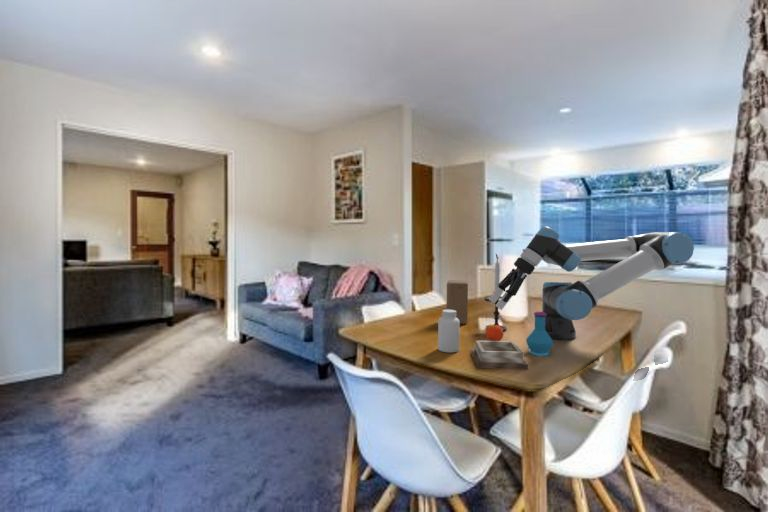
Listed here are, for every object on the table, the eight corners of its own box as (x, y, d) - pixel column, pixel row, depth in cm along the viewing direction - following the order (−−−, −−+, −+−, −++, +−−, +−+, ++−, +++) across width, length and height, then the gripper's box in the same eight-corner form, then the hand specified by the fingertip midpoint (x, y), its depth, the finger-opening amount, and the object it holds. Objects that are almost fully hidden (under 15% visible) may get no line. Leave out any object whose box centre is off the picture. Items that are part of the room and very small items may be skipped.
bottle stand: (515, 353, 144) (515, 340, 143) (528, 369, 128) (528, 354, 127) (471, 352, 145) (471, 339, 145) (478, 367, 129) (478, 352, 129)
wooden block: (467, 324, 189) (467, 283, 188) (446, 323, 191) (446, 282, 190) (467, 319, 199) (467, 280, 197) (447, 319, 201) (447, 280, 199)
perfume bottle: (550, 358, 139) (551, 316, 138) (523, 354, 143) (524, 313, 142) (554, 351, 146) (555, 311, 145) (528, 347, 151) (529, 309, 150)
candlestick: (485, 331, 175) (486, 253, 173) (483, 326, 186) (484, 252, 183) (510, 332, 173) (511, 253, 171) (506, 326, 184) (508, 252, 182)
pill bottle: (461, 353, 145) (461, 312, 144) (439, 353, 145) (439, 312, 144) (457, 346, 152) (457, 308, 152) (436, 346, 153) (436, 308, 152)
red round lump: (479, 341, 160) (480, 324, 160) (488, 337, 165) (488, 321, 165) (498, 345, 155) (498, 327, 154) (506, 341, 160) (506, 324, 159)
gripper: (511, 254, 168) (481, 294, 170) (528, 258, 143) (493, 304, 145) (526, 264, 168) (496, 304, 170) (545, 270, 143) (510, 316, 145)
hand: (494, 304), depth 158 cm, fingers open, 13 cm apart
